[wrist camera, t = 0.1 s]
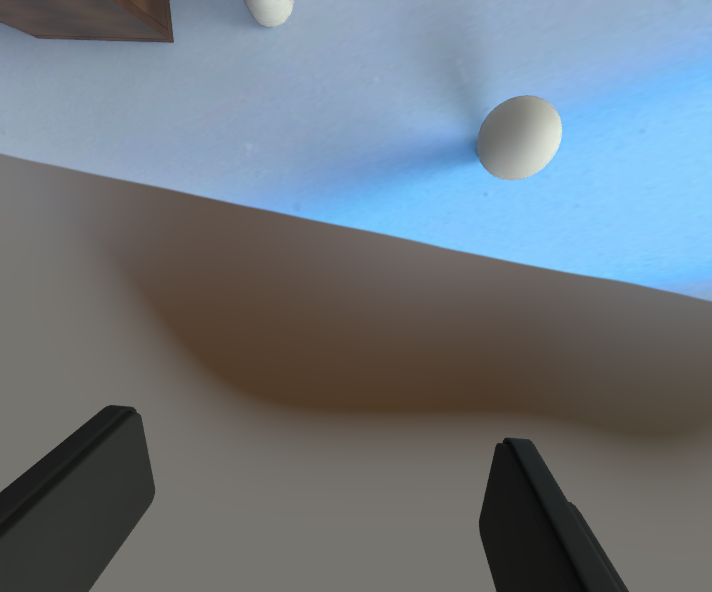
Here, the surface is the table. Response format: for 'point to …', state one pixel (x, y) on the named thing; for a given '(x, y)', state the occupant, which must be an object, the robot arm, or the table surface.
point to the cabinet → (90, 19)
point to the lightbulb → (519, 137)
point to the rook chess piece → (270, 11)
